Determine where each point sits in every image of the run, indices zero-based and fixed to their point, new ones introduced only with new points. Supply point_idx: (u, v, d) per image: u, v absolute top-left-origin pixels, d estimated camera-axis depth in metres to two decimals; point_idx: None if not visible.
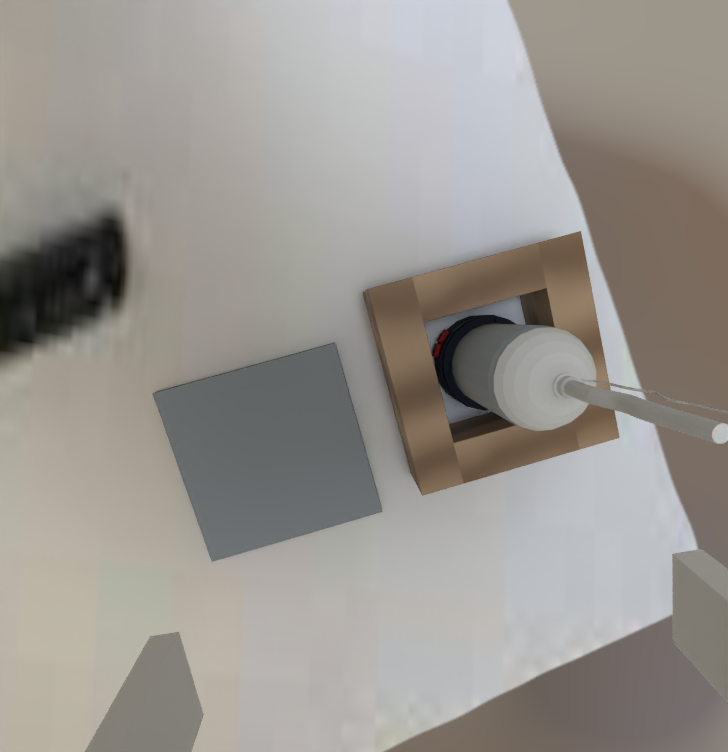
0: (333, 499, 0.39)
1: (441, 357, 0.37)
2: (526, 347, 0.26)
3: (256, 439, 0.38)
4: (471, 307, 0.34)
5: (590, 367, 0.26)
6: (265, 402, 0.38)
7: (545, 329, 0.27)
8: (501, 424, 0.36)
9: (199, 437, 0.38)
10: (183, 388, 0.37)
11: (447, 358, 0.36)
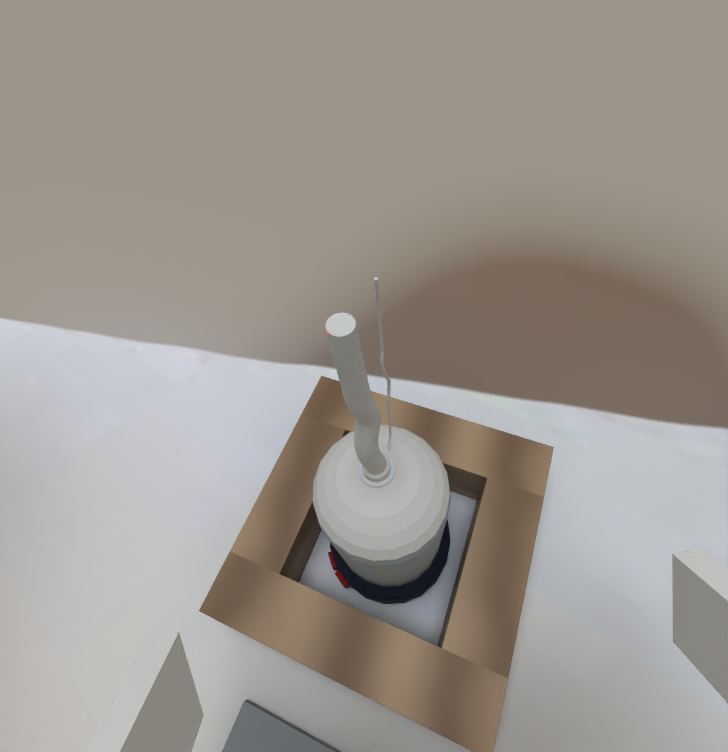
0: None
1: (347, 580, 0.28)
2: (320, 484, 0.20)
3: None
4: (306, 511, 0.28)
5: (387, 432, 0.21)
6: None
7: (326, 453, 0.22)
8: (462, 566, 0.26)
9: None
10: None
11: (348, 574, 0.28)
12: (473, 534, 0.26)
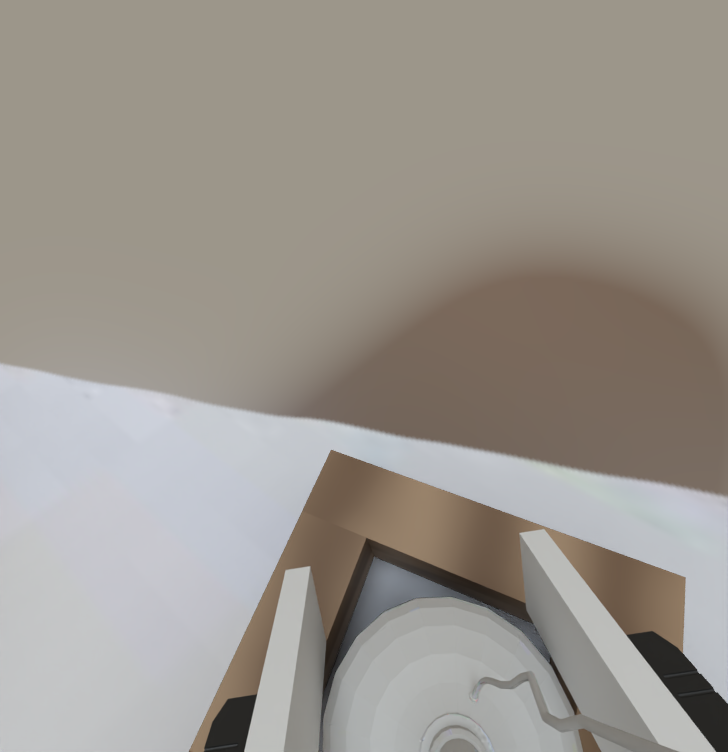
0: None
1: None
2: (337, 749, 0.10)
3: None
4: None
5: (464, 639, 0.11)
6: None
7: (346, 658, 0.12)
8: None
9: None
10: None
11: None
12: None
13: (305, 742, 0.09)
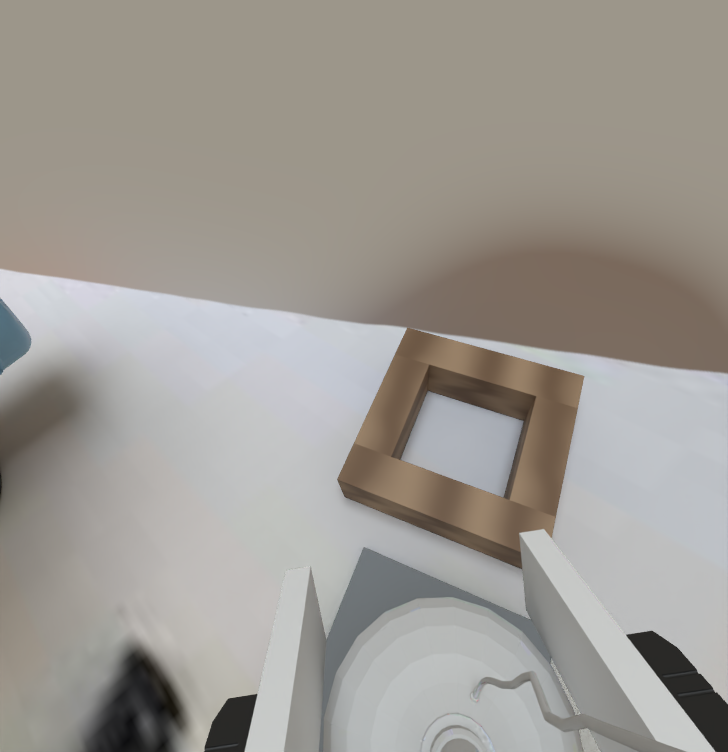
0: None
1: None
2: (338, 749, 0.10)
3: None
4: (406, 417, 0.39)
5: (465, 639, 0.11)
6: None
7: (347, 658, 0.12)
8: (519, 455, 0.37)
9: None
10: None
11: None
12: (528, 432, 0.37)
13: (306, 743, 0.09)
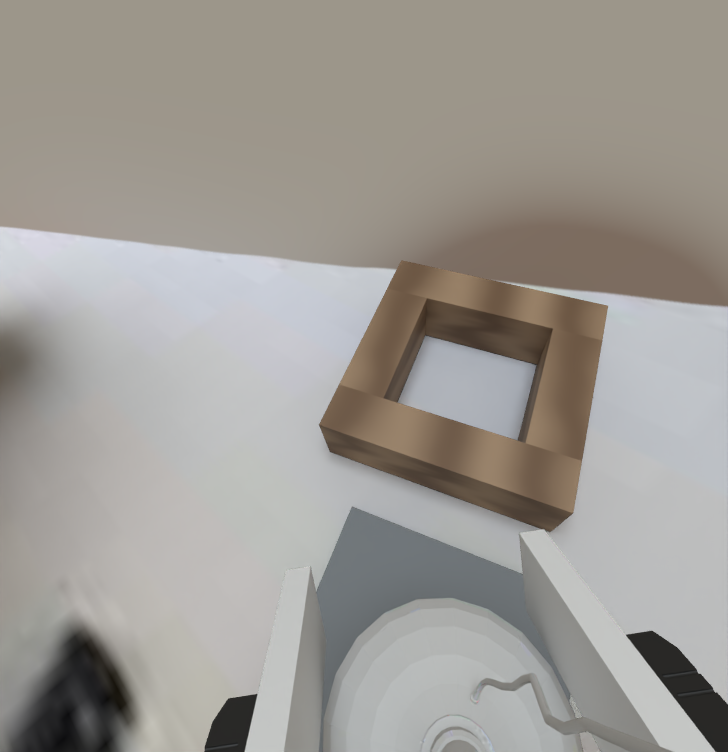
0: None
1: None
2: (338, 750, 0.10)
3: None
4: (400, 355, 0.33)
5: (465, 640, 0.11)
6: (355, 631, 0.28)
7: (347, 659, 0.12)
8: (535, 395, 0.32)
9: None
10: None
11: None
12: (544, 367, 0.31)
13: (305, 743, 0.09)
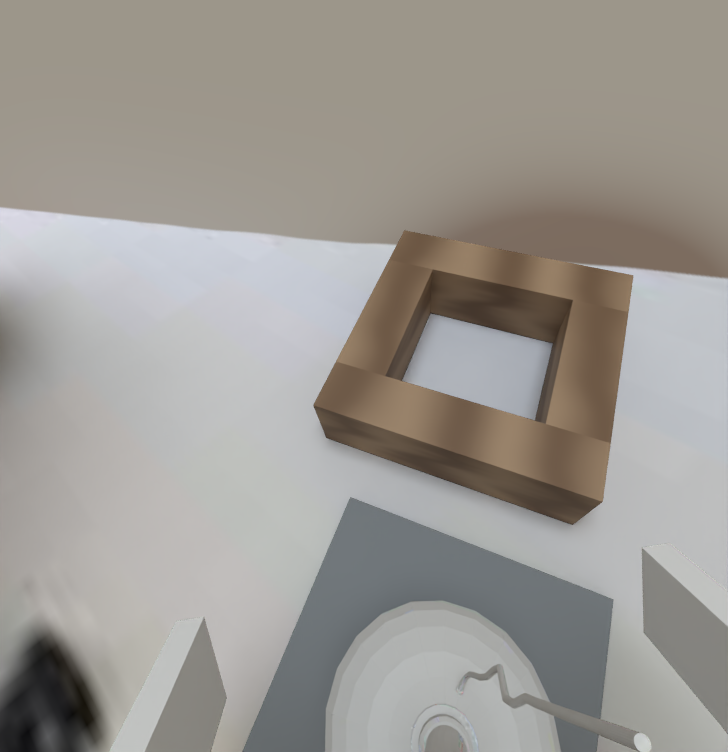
0: (554, 657, 0.23)
1: None
2: (339, 736, 0.12)
3: None
4: (404, 330, 0.30)
5: (453, 638, 0.12)
6: (353, 636, 0.24)
7: (347, 656, 0.13)
8: (554, 372, 0.28)
9: None
10: (251, 743, 0.22)
11: None
12: (565, 341, 0.28)
13: None
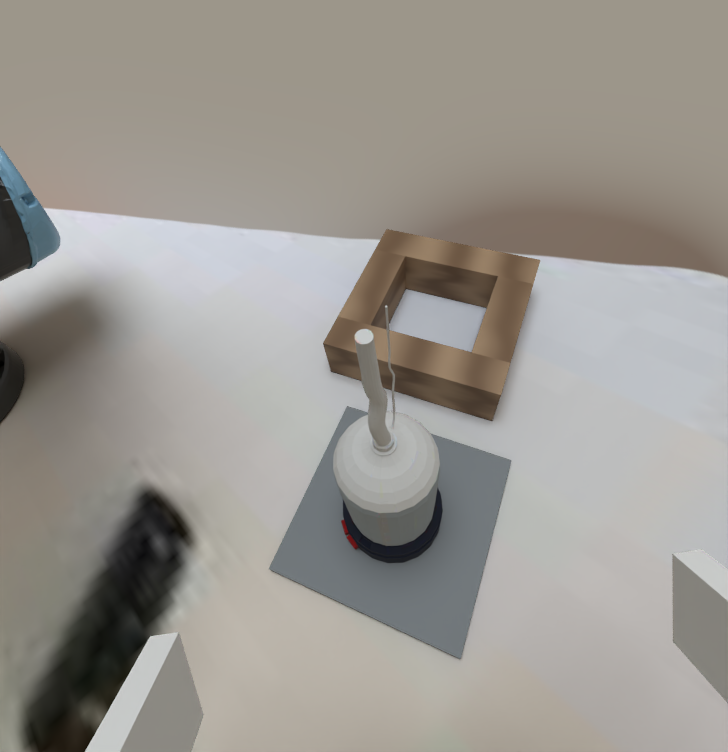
0: (472, 491, 0.37)
1: (356, 541, 0.34)
2: (339, 455, 0.26)
3: None
4: (383, 296, 0.44)
5: (392, 416, 0.27)
6: None
7: (343, 433, 0.28)
8: None
9: (333, 561, 0.35)
10: (286, 539, 0.37)
11: (357, 535, 0.33)
12: (489, 302, 0.43)
13: None
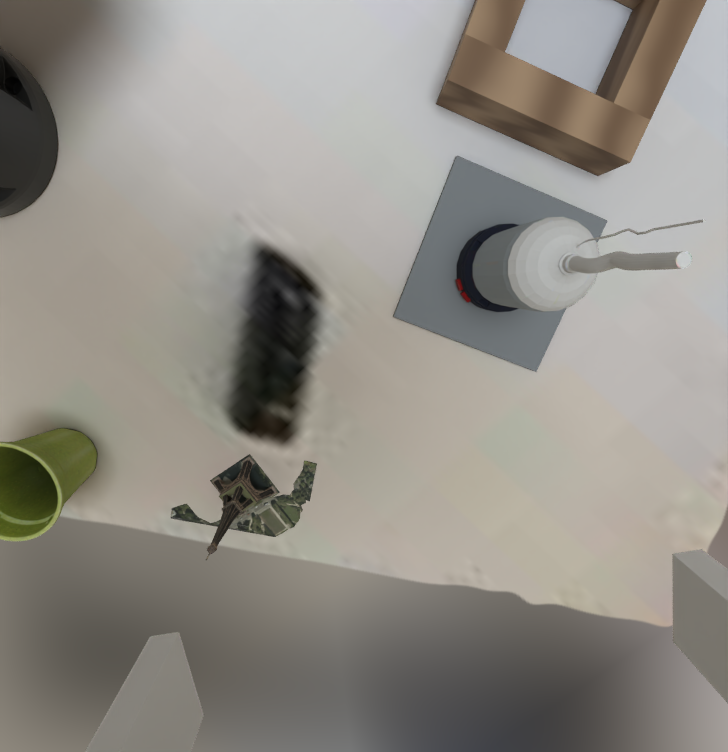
0: None
1: (473, 299, 0.41)
2: (520, 266, 0.30)
3: None
4: None
5: (573, 230, 0.29)
6: (458, 243, 0.42)
7: (519, 240, 0.30)
8: (630, 52, 0.36)
9: (446, 310, 0.44)
10: (405, 293, 0.43)
11: (478, 297, 0.40)
12: (651, 21, 0.35)
13: None
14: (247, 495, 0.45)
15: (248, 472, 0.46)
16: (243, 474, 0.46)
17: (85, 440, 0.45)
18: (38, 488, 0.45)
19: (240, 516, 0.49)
